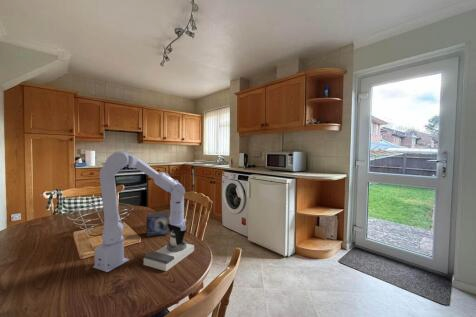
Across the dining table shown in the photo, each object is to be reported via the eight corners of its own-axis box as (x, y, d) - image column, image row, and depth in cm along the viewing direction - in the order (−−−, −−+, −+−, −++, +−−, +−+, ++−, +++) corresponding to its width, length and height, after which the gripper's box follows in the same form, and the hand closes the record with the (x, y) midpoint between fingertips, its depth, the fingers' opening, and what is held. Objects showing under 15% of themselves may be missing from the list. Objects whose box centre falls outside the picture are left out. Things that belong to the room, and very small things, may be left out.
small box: (145, 237, 109) (145, 217, 109) (147, 232, 116) (147, 213, 115) (167, 235, 112) (167, 215, 112) (168, 230, 119) (168, 212, 118)
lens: (184, 246, 92) (184, 232, 92) (172, 249, 89) (173, 234, 89) (179, 242, 97) (179, 229, 96) (167, 244, 93) (168, 231, 93)
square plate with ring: (166, 271, 79) (166, 260, 79) (143, 264, 83) (143, 254, 83) (194, 250, 96) (194, 241, 96) (174, 246, 100) (174, 237, 100)
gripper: (193, 213, 89) (192, 245, 90) (179, 206, 101) (179, 234, 101) (176, 216, 85) (176, 250, 85) (164, 208, 96) (164, 237, 97)
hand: (176, 242), depth 93 cm, fingers closed on lens, 5 cm apart
